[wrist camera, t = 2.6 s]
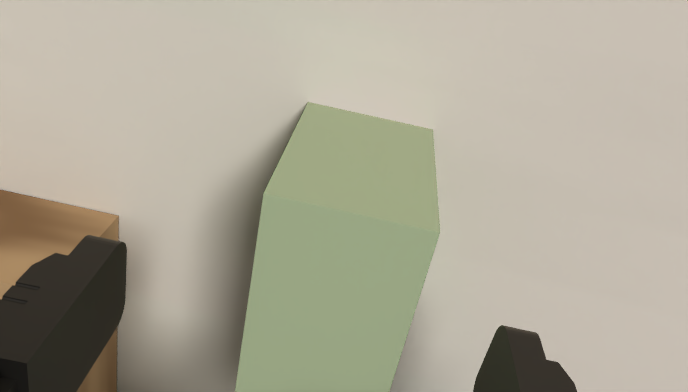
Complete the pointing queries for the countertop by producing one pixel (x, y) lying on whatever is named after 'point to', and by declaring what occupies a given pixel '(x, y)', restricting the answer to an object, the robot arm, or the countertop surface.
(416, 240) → the sage brick
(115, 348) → the oak block
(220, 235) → the countertop surface
